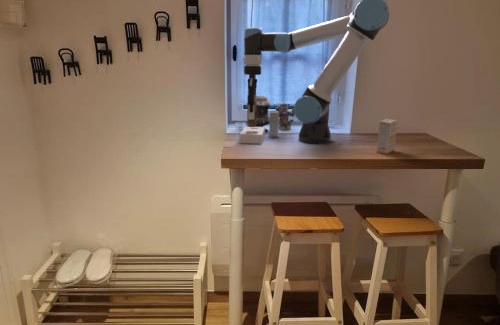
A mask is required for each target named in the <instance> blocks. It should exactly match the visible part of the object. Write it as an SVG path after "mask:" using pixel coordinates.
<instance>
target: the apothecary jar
mask: <svg viewBox="0 0 500 325" xmlns="http://www.w3.org/2000/svg"><path fill="white" fill-rule="evenodd" d="M256 102H257V103H256V127H266V126H267V125H270V116H269V108H270V107H271V102H270V101H269V100H268V96H264V95H257V99H256ZM268 132H269V129H268V128H265V133H268Z"/></svg>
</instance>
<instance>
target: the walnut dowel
mask: <svg viewBox="0 0 500 325" xmlns="http://www.w3.org/2000/svg"><path fill="white" fill-rule="evenodd" d="M257 96H258V95H257V94H256V95H254V105H255V112H254V120H251V119H248V105H246V106H247V108H246V109H247V111H246V112H247V115H246V116H247V117H246V119H247V120H246V121H247V122H246V126H248V127H256V99H257Z"/></svg>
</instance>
